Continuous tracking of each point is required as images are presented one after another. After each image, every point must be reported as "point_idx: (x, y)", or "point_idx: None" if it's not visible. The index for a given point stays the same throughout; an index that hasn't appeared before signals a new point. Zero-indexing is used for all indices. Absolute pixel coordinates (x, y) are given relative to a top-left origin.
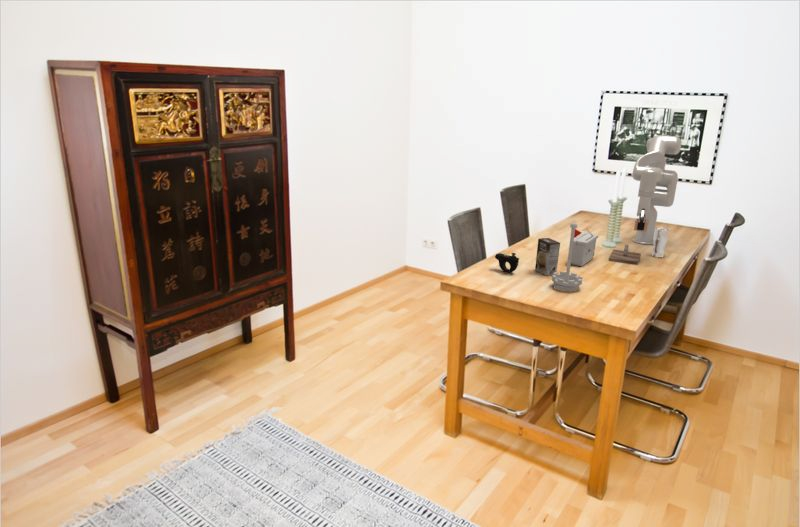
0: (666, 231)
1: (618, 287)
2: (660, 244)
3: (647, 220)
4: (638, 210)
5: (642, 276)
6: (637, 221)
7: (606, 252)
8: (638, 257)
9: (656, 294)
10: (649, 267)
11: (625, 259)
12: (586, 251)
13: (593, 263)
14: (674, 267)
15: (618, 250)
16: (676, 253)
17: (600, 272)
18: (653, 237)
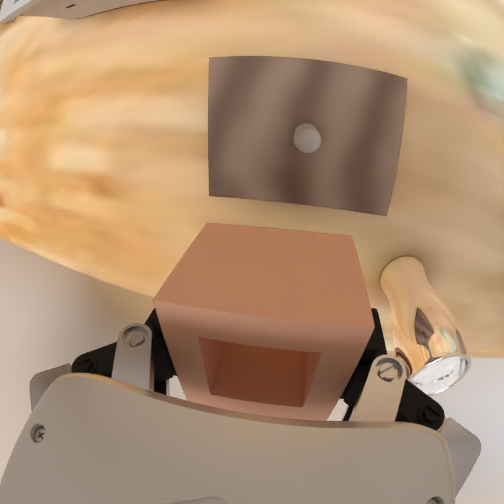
0: None
1: (7, 170)
2: (392, 321)
3: (282, 413)
4: (13, 450)
5: (92, 214)
6: (162, 321)
7: (374, 44)
8: (300, 200)
9: (26, 245)
10: None
11: (223, 137)
12: (61, 5)
13: (134, 24)
14: None
15: (396, 103)
16: None
17: (56, 89)
18: (435, 311)
